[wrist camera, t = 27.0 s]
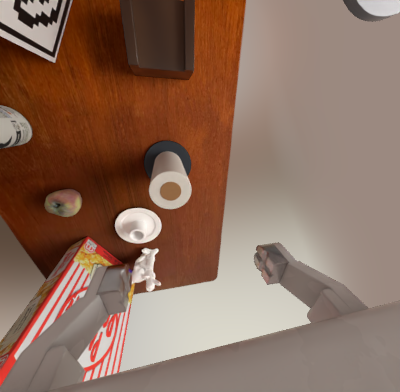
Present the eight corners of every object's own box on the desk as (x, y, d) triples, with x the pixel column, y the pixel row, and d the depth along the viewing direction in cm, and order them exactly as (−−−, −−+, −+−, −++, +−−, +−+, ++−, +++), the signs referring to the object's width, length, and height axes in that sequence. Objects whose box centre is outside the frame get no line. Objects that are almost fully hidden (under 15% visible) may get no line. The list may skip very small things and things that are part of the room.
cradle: (188, 23, 27) (195, -4, 21) (188, 79, 31) (194, 70, 25) (127, 14, 25) (115, -19, 19) (135, 75, 29) (127, 64, 23)
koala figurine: (161, 243, 48) (160, 279, 37) (162, 259, 51) (161, 296, 40) (132, 246, 46) (122, 284, 35) (134, 262, 49) (126, 301, 38)
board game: (137, 273, 51) (114, 405, 28) (121, 281, 52) (86, 420, 28) (87, 234, 41) (-14, 391, 18) (68, 246, 42) (-57, 414, 18)
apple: (97, 204, 38) (87, 217, 33) (62, 210, 37) (45, 225, 32) (87, 182, 35) (74, 193, 30) (48, 187, 34) (28, 199, 29)
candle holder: (114, 205, 39) (109, 214, 35) (163, 207, 42) (162, 216, 39) (116, 241, 44) (112, 253, 40) (159, 241, 47) (159, 252, 43)
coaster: (190, 140, 36) (191, 141, 35) (190, 184, 41) (190, 185, 40) (141, 140, 34) (140, 140, 33) (147, 186, 39) (147, 187, 38)
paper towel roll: (151, 211, 24) (146, 172, 21) (155, 178, 38) (153, 151, 35) (191, 208, 26) (191, 170, 23) (182, 177, 39) (181, 151, 36)
